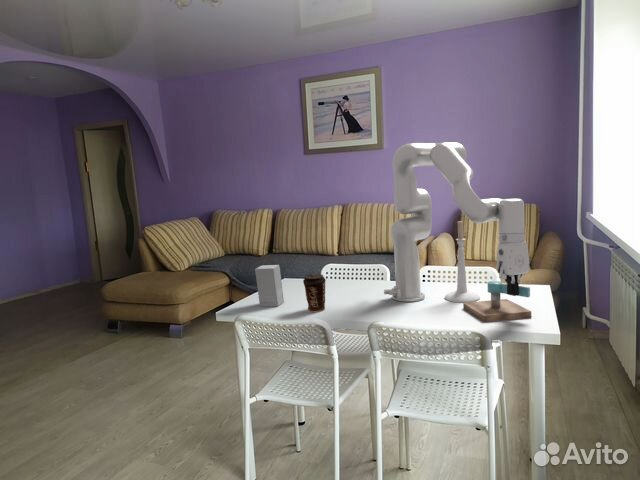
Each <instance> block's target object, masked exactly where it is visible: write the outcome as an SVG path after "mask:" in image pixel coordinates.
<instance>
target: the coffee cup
mask: <svg viewBox="0 0 640 480" xmlns="http://www.w3.org/2000/svg"><path fill="white" fill-rule="evenodd" d="M326 281H327V280H326V278H325V277H324V274H321V273H320V274H319V273H315V274H307V275H306V276H304V278H303V282H302V283H303V286H304V291H305V298H306V301H307V310H308V312H310V313H321V312H323V311H325V308H326V307H325V306H326Z"/></svg>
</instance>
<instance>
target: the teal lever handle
mask: <svg viewBox="0 0 640 480" xmlns="http://www.w3.org/2000/svg"><path fill="white" fill-rule="evenodd" d="M487 293H489V294H491V293H495V294H498V293H500V294H504V295H508V294H507V283H506V282H505V283H504V282H503V281H495V280H493V281H488V282H487ZM515 297H524V298H530V297H531V287H529V286H525V285H519V295H516V296H515Z"/></svg>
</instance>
